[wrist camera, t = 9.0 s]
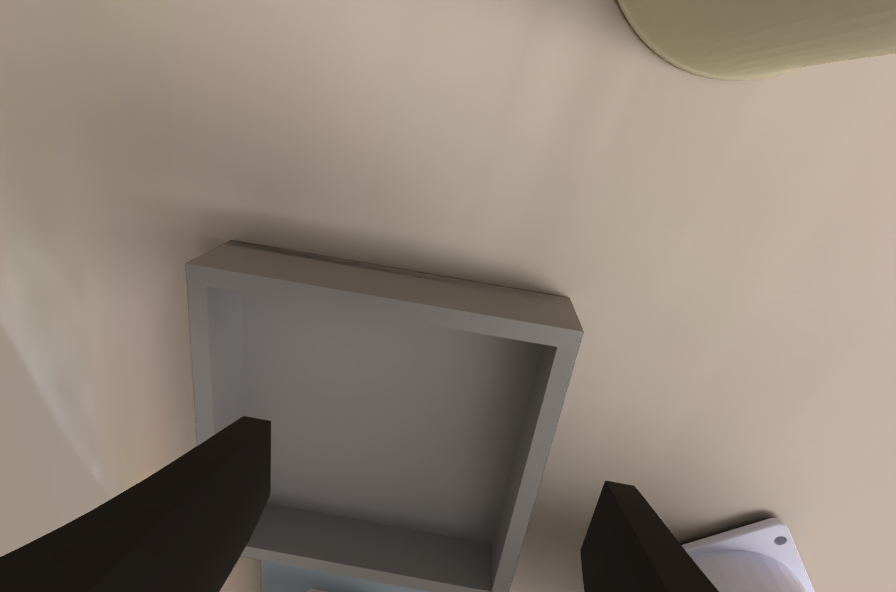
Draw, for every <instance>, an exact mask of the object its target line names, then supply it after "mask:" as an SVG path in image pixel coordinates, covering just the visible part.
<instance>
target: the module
mask: <svg viewBox="0 0 896 592" xmlns="http://www.w3.org/2000/svg"><path fill="white" fill-rule="evenodd" d="M308 592H327V591H322V590H317V589H312V588H309V591H308Z"/></svg>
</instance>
